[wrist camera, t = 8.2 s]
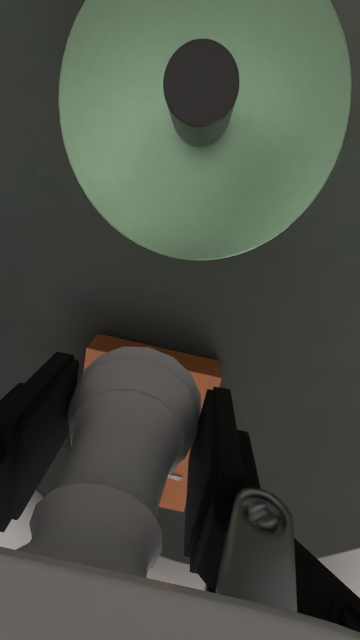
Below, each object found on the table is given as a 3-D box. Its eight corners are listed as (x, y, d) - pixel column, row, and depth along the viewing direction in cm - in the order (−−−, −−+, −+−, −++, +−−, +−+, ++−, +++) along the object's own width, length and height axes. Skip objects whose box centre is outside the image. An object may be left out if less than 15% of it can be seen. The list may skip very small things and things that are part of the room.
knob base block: (98, 333, 27) (85, 348, 24) (219, 360, 27) (222, 379, 24) (78, 466, 31) (65, 493, 28) (183, 489, 31) (181, 519, 28)
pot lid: (85, -88, 13) (25, -241, 9) (386, -16, 13) (481, -130, 9) (55, 227, 17) (3, 234, 12) (289, 281, 17) (321, 305, 12)
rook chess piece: (127, 465, 13) (30, 807, 6) (56, 379, 12) (-181, 655, 5) (225, 414, 12) (265, 745, 5) (155, 317, 11) (63, 536, 4)
